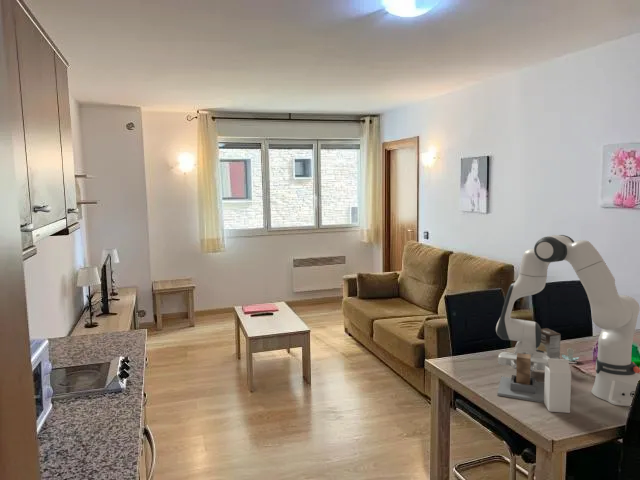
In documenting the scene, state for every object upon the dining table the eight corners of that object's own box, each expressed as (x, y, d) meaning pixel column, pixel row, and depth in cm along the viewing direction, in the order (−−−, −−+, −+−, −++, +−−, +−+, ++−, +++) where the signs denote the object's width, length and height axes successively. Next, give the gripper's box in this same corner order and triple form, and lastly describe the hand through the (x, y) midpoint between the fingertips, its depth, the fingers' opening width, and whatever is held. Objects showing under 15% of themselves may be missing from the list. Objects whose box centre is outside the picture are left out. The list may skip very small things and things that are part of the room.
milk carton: (570, 413, 170) (571, 363, 168) (549, 411, 172) (550, 362, 170) (564, 404, 177) (565, 356, 175) (543, 403, 178) (545, 355, 176)
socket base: (547, 385, 194) (547, 375, 194) (547, 403, 178) (547, 393, 178) (501, 378, 202) (501, 369, 202) (497, 395, 186) (497, 385, 186)
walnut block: (530, 382, 191) (530, 354, 190) (529, 387, 187) (530, 358, 185) (516, 381, 193) (517, 353, 192) (516, 385, 189) (516, 357, 188)
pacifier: (576, 365, 215) (579, 361, 219) (577, 352, 214) (580, 348, 219) (559, 362, 220) (562, 358, 224) (559, 349, 219) (563, 345, 223)
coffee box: (534, 362, 220) (535, 329, 218) (546, 360, 221) (547, 327, 219) (548, 369, 211) (549, 334, 209) (560, 367, 212) (561, 333, 210)
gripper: (499, 346, 205) (496, 357, 193) (551, 352, 196) (551, 363, 184) (498, 360, 206) (495, 371, 193) (550, 366, 197) (551, 379, 184)
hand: (523, 367), depth 188 cm, fingers closed on walnut block, 5 cm apart
